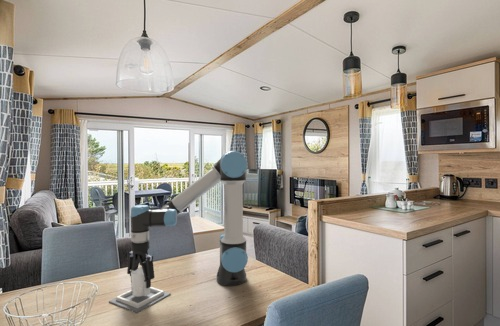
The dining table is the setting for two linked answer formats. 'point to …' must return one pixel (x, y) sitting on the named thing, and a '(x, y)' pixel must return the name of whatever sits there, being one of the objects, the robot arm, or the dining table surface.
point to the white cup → (137, 282)
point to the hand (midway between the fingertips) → (140, 292)
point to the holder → (139, 300)
